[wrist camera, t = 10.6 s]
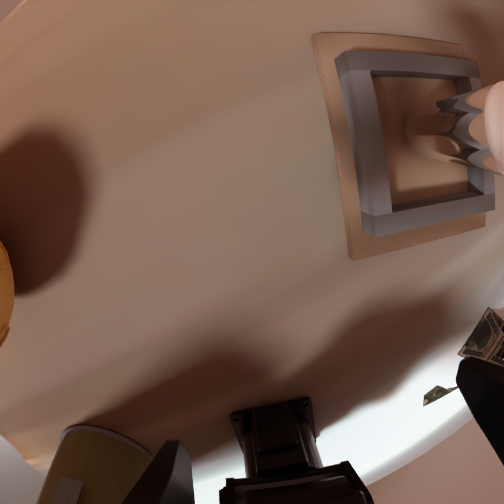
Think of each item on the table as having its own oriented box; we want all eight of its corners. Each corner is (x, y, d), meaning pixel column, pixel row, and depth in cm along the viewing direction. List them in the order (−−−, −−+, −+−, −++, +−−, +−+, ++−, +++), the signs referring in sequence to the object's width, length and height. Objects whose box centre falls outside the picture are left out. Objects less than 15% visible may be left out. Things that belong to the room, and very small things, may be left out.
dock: (478, 224, 20) (500, 232, 17) (348, 256, 20) (365, 270, 17) (455, 47, 16) (476, 40, 13) (310, 37, 15) (323, 22, 13)
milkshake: (420, 190, 18) (542, 225, 8) (381, 116, 16) (507, 97, 7) (461, 157, 17) (577, 174, 8) (427, 87, 16) (546, 65, 6)
